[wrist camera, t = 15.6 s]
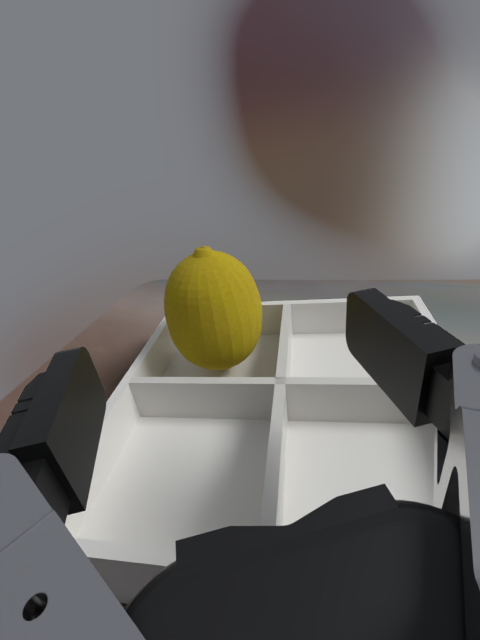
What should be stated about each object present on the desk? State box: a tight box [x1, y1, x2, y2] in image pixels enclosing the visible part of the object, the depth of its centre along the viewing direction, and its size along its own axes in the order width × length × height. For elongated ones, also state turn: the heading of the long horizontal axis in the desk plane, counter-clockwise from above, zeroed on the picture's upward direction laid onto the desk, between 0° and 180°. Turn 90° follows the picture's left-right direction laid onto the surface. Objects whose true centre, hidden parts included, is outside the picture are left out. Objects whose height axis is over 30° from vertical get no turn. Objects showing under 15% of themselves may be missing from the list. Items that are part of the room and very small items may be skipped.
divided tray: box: [65, 296, 437, 604], centre depth 17 cm, size 17×17×3 cm
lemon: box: [164, 246, 262, 370], centre depth 20 cm, size 6×6×8 cm
